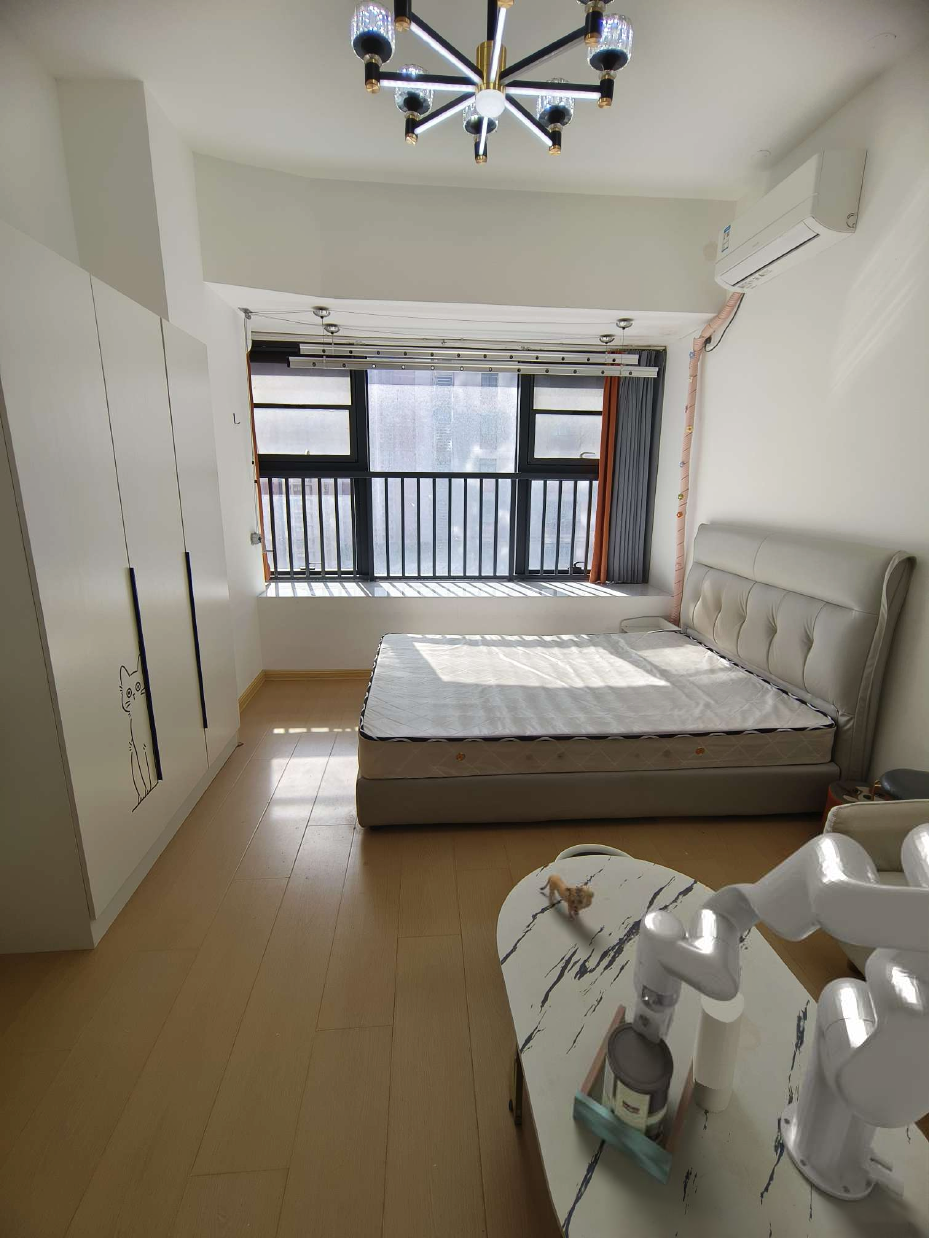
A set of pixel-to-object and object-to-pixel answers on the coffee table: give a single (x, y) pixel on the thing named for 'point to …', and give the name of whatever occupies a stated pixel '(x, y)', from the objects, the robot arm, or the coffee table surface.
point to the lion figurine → (569, 895)
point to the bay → (620, 1131)
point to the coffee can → (637, 1080)
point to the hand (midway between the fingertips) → (646, 1059)
